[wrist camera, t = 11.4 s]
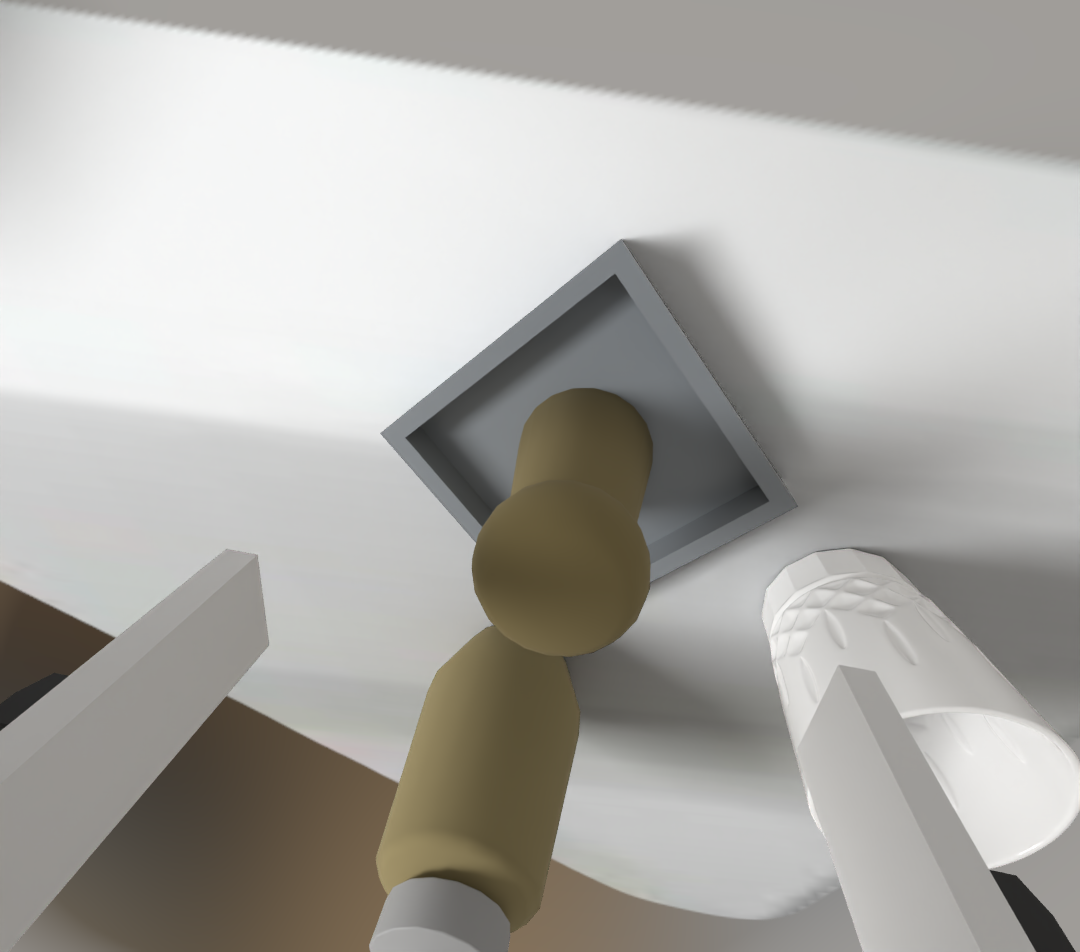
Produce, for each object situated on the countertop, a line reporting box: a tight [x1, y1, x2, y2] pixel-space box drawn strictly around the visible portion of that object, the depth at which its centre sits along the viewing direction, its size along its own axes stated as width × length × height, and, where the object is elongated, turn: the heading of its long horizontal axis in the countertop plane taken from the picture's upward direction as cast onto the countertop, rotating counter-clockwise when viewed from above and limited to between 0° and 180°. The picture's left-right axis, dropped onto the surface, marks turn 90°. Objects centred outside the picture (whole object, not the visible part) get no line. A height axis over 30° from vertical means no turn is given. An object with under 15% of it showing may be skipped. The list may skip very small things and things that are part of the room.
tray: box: [380, 239, 797, 582], centre depth 24 cm, size 13×13×2 cm
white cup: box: [762, 548, 1080, 869], centre depth 22 cm, size 8×8×10 cm
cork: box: [472, 388, 653, 657], centre depth 19 cm, size 6×6×11 cm
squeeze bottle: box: [369, 626, 580, 952], centre depth 23 cm, size 8×8×18 cm
